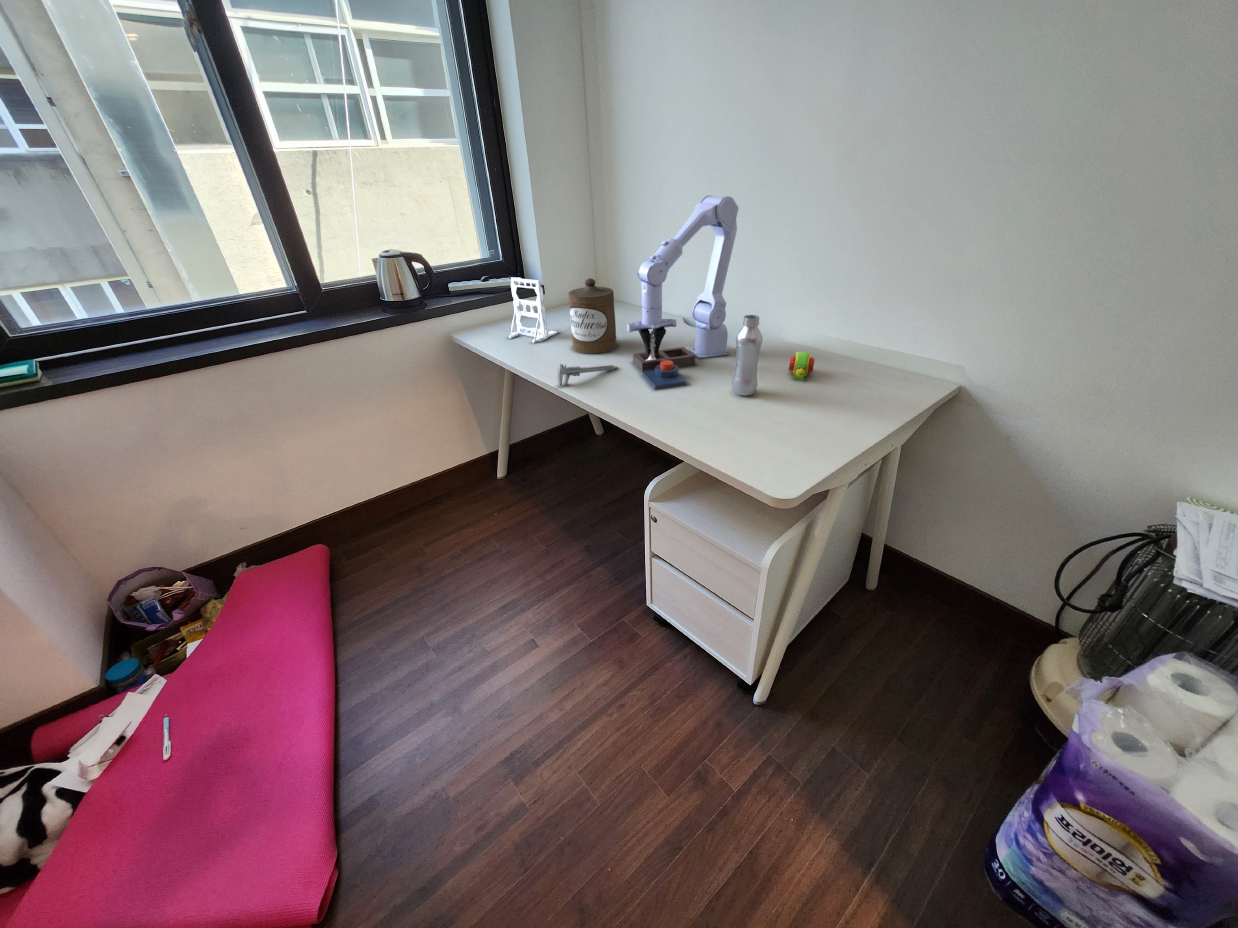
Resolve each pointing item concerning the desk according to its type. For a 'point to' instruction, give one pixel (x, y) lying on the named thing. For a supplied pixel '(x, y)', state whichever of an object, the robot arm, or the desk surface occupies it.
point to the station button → (666, 365)
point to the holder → (664, 358)
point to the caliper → (579, 371)
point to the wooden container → (592, 318)
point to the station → (664, 377)
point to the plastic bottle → (747, 356)
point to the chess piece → (652, 347)
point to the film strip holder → (535, 332)
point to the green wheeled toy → (801, 365)
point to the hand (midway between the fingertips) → (651, 352)
